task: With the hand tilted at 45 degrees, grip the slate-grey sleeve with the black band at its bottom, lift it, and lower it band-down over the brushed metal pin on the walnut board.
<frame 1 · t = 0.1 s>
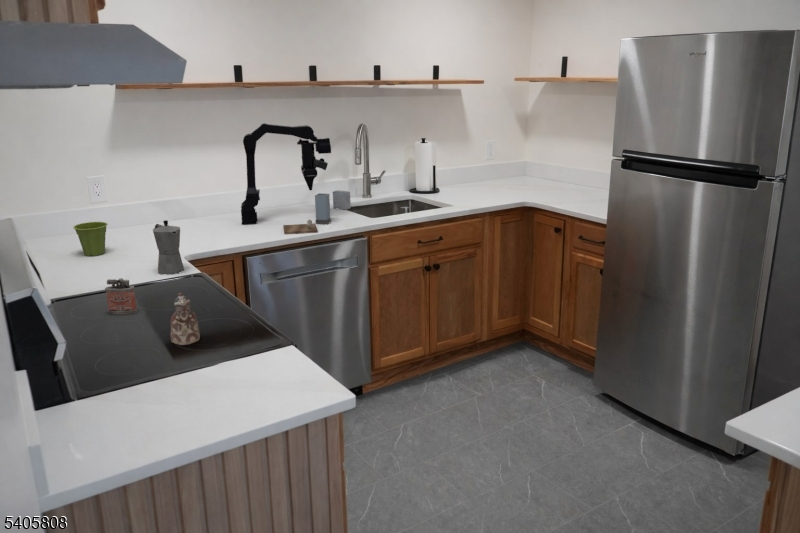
hand: (310, 188, 300), 15 cm above the worktop, tool pointing down, fingers open, 9 cm apart
coffeepot: (169, 270, 229), on the worktop
lighter: (123, 312, 190), on the worktop
figurine: (185, 340, 171), on the worktop
pin board: (300, 229, 285), on the worktop
plant pot: (94, 254, 251), on the worktop
sleeve: (323, 222, 298), on the worktop
medicine box: (342, 209, 328), on the worktop
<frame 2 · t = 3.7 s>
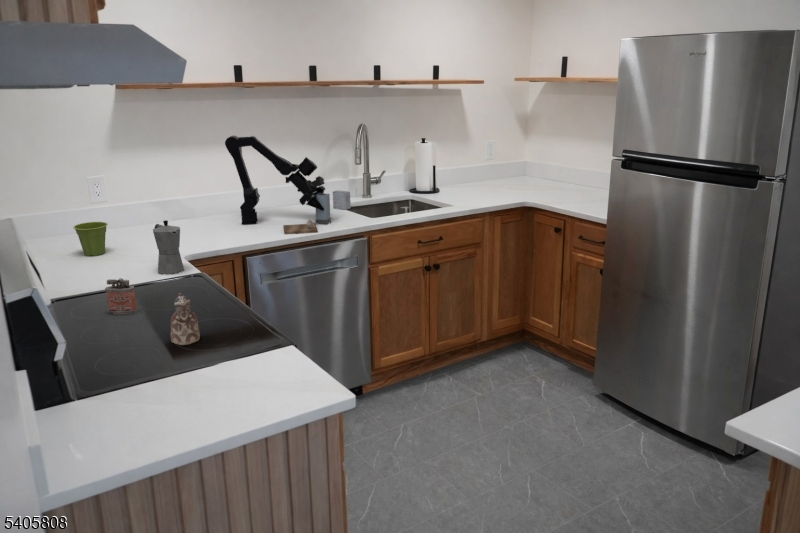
hand: (325, 208, 295), 7 cm above the worktop, tool tilted 45°, fingers closed on sleeve, 5 cm apart
sleeve: (323, 222, 298), on the worktop, touching gripper
everything else where it was.
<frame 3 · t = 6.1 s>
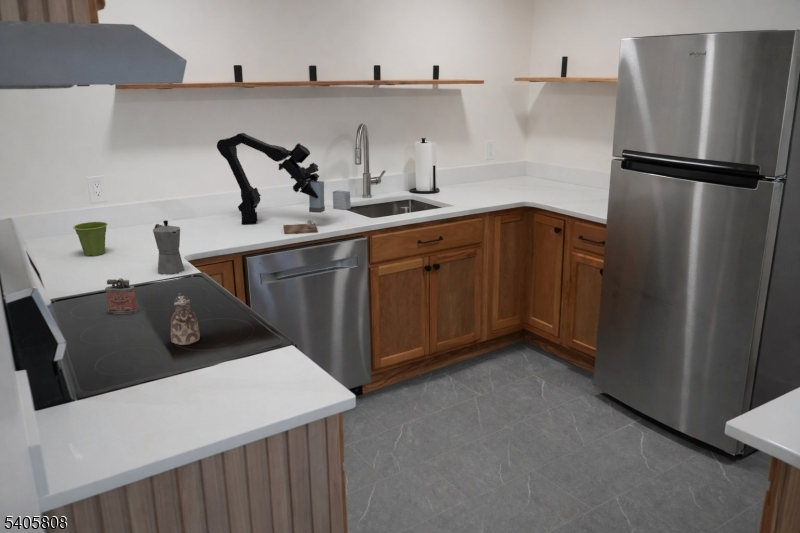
hand: (319, 196, 288), 13 cm above the worktop, tool tilted 45°, fingers closed on sleeve, 5 cm apart
sleeve: (317, 211, 290), point 7 cm above the worktop, touching gripper
everything else where it was.
when the fingers open (9 cm above the worktop, at t = 8.3 s): sleeve drops 1 cm, resting on pin board.
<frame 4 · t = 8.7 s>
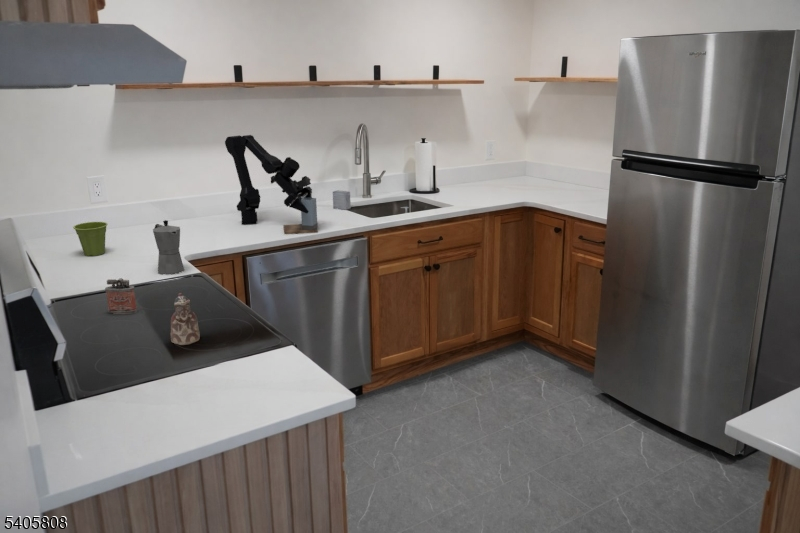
hand: (312, 210, 280), 9 cm above the worktop, tool tilted 45°, fingers open, 9 cm apart
sleeve: (309, 228, 283), point 1 cm above the worktop, touching pin board
everything else where it was.
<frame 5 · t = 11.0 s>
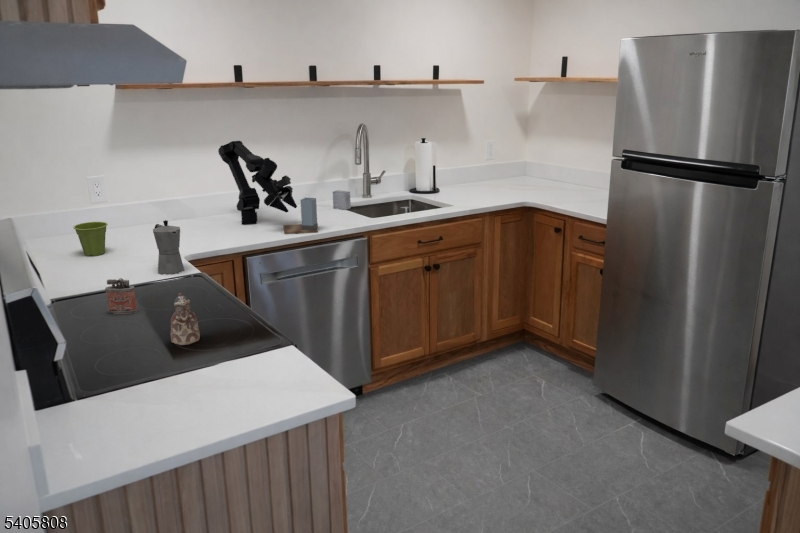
hand: (292, 209, 283), 9 cm above the worktop, tool tilted 45°, fingers open, 9 cm apart
nothing on the worktop moved.
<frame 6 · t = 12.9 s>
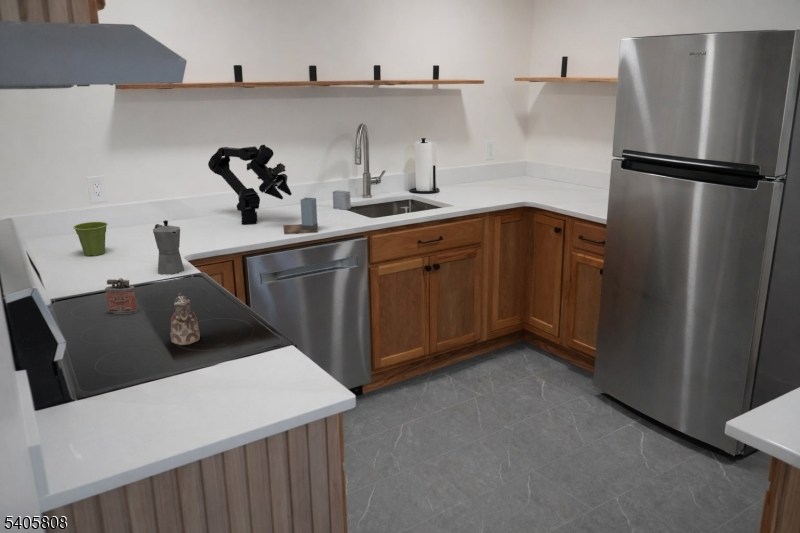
hand: (286, 196, 286), 14 cm above the worktop, tool tilted 45°, fingers open, 9 cm apart
nothing on the worktop moved.
at the end: sleeve 0.0 cm from the target spot on the pin board, point 1.0 cm above the pin board's base; sleeve tilted 0°; the gripper is holding nothing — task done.
